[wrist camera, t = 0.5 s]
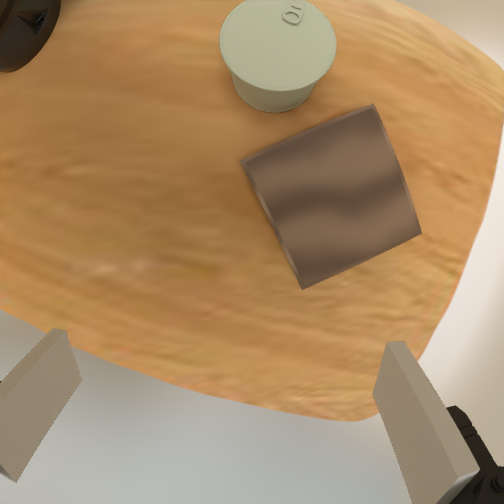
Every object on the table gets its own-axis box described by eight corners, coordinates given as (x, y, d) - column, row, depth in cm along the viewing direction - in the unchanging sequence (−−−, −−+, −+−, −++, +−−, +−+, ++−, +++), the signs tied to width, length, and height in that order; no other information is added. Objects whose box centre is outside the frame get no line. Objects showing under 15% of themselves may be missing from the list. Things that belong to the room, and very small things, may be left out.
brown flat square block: (242, 160, 34) (239, 160, 30) (361, 108, 32) (373, 103, 28) (298, 276, 38) (302, 290, 34) (407, 225, 35) (422, 233, 31)
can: (327, 59, 30) (355, 19, 19) (294, 126, 33) (310, 111, 21) (253, 27, 29) (248, -24, 18) (218, 93, 32) (196, 63, 20)
